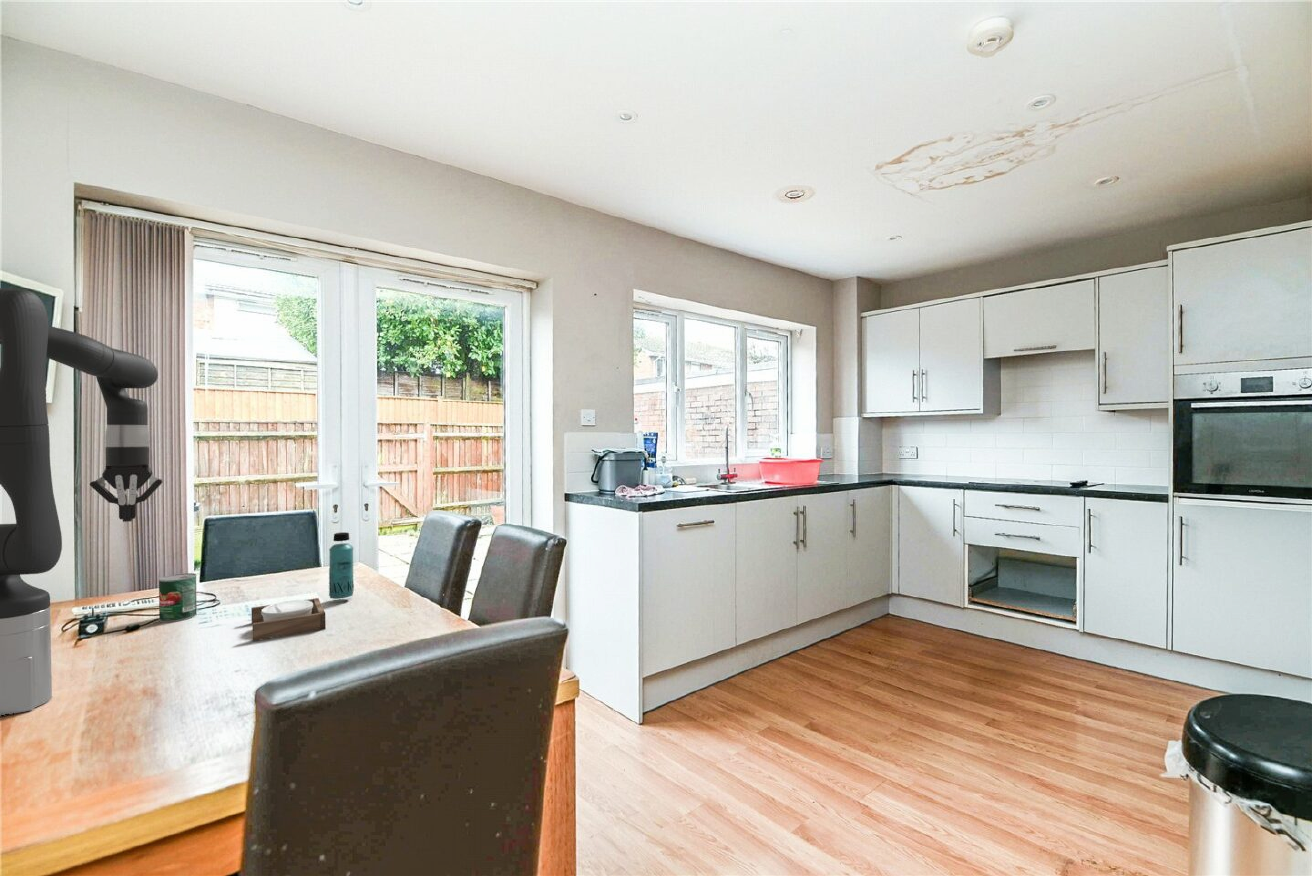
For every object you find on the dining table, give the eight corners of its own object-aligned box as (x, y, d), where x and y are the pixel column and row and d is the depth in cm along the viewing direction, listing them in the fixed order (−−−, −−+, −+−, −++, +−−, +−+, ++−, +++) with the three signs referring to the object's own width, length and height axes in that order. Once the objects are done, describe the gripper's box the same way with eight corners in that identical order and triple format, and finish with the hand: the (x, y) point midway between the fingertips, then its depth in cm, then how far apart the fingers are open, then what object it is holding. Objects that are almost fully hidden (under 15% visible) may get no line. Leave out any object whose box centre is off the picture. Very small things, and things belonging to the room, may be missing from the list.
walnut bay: (325, 629, 150) (325, 613, 150) (252, 641, 142) (252, 624, 142) (318, 612, 164) (318, 598, 164) (251, 623, 155) (251, 607, 155)
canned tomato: (152, 623, 155) (152, 581, 155) (168, 614, 162) (167, 574, 162) (188, 620, 157) (187, 579, 157) (202, 612, 164) (201, 572, 164)
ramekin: (250, 631, 149) (250, 610, 149) (289, 618, 159) (289, 598, 159) (285, 636, 146) (285, 614, 145) (323, 621, 156) (323, 601, 156)
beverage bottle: (323, 602, 173) (323, 533, 173) (345, 596, 179) (344, 530, 179) (338, 605, 170) (337, 535, 170) (359, 599, 176) (358, 532, 176)
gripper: (84, 445, 129) (84, 525, 129) (162, 445, 136) (163, 520, 136) (92, 445, 135) (92, 521, 135) (167, 444, 143) (167, 517, 143)
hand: (127, 521), depth 136 cm, fingers closed
